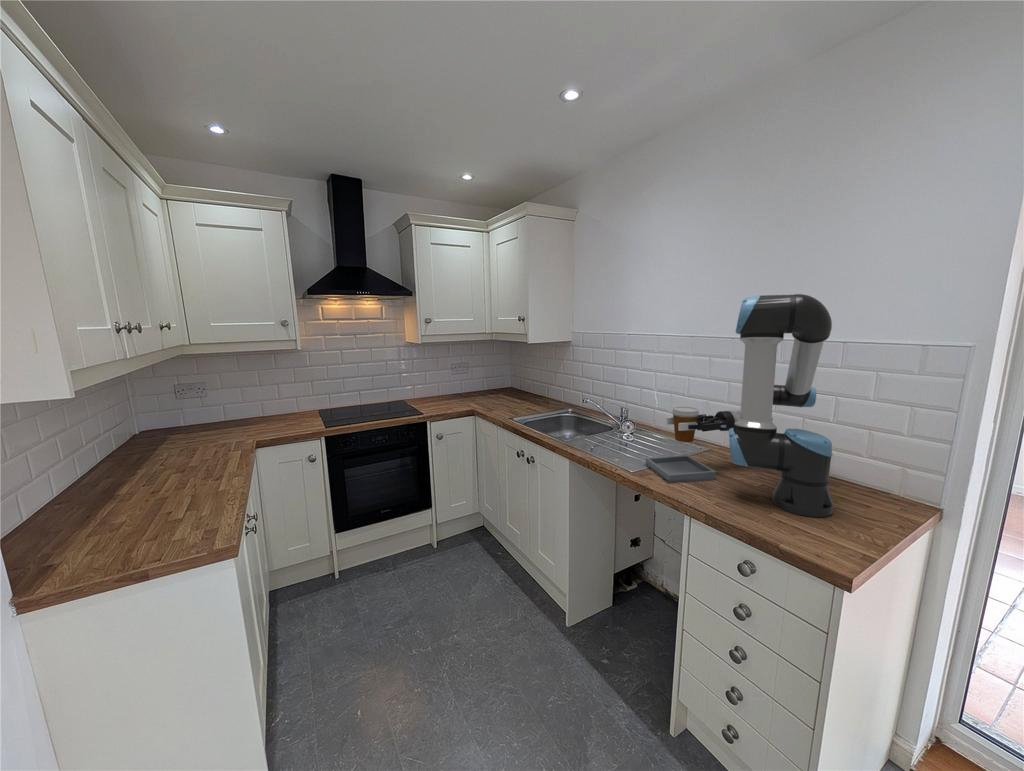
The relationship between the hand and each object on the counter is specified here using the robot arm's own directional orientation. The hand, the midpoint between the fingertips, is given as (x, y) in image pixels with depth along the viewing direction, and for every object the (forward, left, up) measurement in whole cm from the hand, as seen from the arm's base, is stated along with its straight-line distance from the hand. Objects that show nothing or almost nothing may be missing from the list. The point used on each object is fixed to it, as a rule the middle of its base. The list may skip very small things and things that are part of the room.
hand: (672, 423), depth 149 cm
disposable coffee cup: (+2, -4, -7) cm, 8 cm away
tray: (+1, -3, -19) cm, 19 cm away
